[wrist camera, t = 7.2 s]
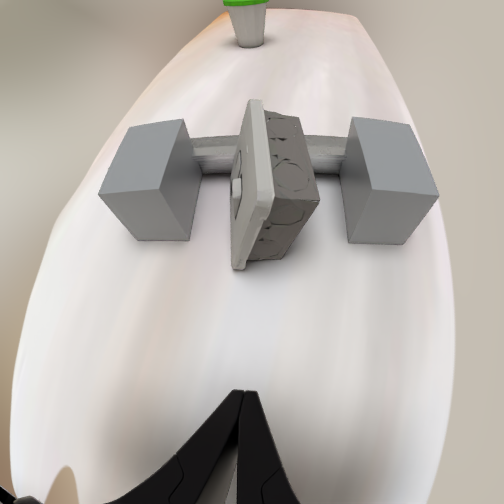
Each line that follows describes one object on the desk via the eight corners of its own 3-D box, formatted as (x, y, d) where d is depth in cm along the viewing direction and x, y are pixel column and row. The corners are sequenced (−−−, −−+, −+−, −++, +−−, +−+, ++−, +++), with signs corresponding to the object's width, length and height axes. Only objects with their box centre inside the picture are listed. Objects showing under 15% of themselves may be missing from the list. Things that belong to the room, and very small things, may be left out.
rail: (393, 185, 23) (405, 161, 20) (149, 184, 26) (135, 161, 23) (388, 167, 24) (398, 143, 21) (155, 167, 27) (143, 144, 24)
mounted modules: (403, 244, 21) (439, 195, 14) (137, 240, 23) (97, 194, 17) (387, 177, 24) (408, 123, 18) (156, 176, 26) (130, 126, 20)
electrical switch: (230, 179, 25) (224, 95, 17) (285, 178, 25) (298, 95, 17) (231, 274, 21) (220, 202, 13) (298, 271, 21) (328, 200, 13)
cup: (280, 41, 40) (276, -26, 26) (253, 53, 38) (244, -22, 24) (248, 35, 42) (241, -26, 29) (221, 47, 40) (208, -20, 27)
